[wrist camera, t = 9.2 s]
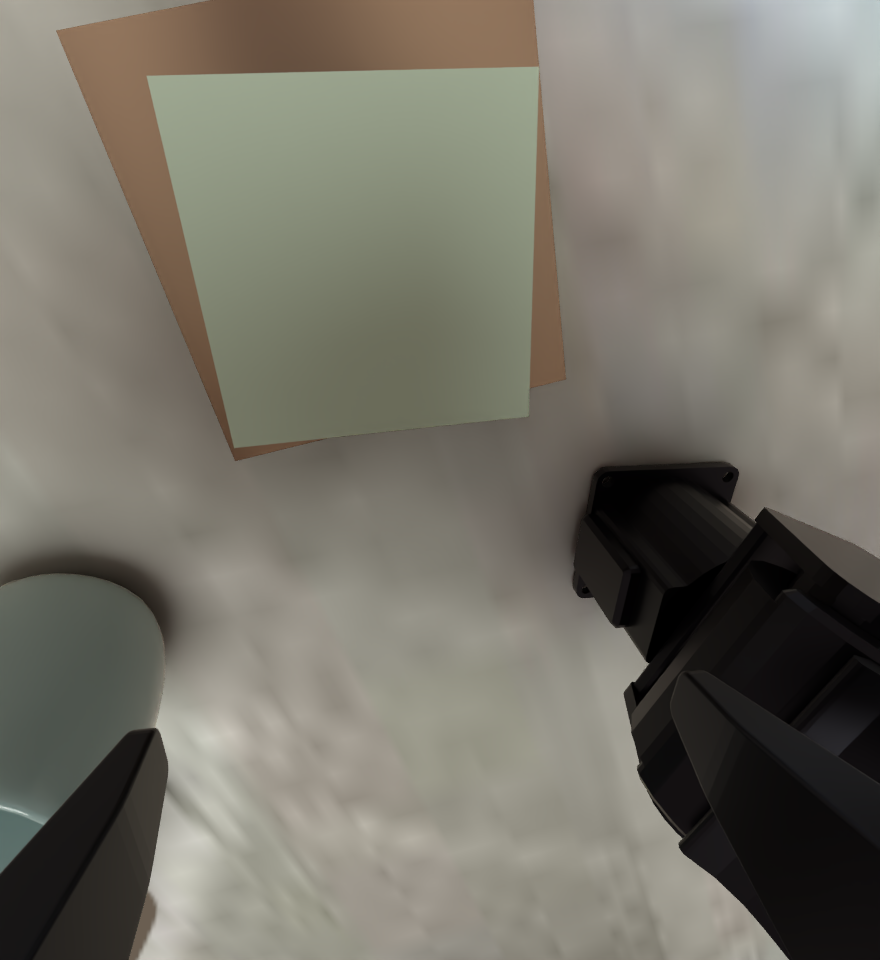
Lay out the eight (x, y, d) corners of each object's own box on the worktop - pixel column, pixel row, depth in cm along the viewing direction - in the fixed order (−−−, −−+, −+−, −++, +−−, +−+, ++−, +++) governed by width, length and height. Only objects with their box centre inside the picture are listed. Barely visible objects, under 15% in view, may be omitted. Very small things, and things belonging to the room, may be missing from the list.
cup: (-37, 528, 20) (-326, 787, 11) (195, 554, 22) (104, 792, 13) (-21, 686, 23) (-237, 987, 14) (181, 697, 25) (99, 966, 16)
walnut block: (463, 21, 16) (527, -62, 11) (505, 331, 20) (565, 379, 15) (149, 85, 15) (55, 30, 10) (260, 389, 20) (235, 461, 15)
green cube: (463, 113, 12) (539, 67, 8) (467, 347, 14) (528, 416, 10) (219, 121, 11) (146, 76, 7) (266, 365, 14) (234, 448, 9)
